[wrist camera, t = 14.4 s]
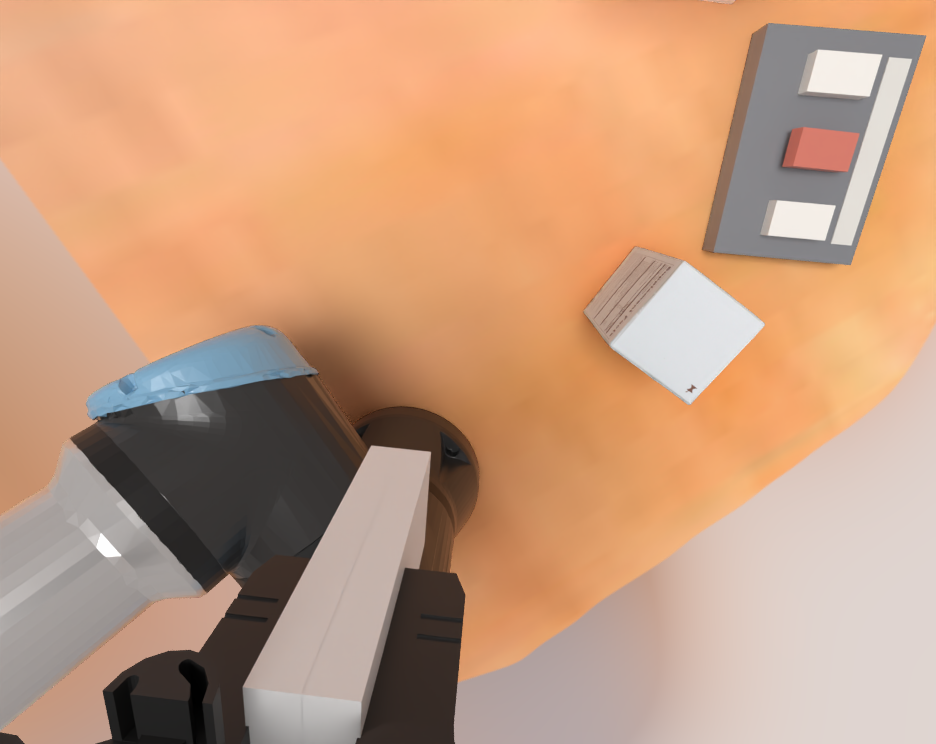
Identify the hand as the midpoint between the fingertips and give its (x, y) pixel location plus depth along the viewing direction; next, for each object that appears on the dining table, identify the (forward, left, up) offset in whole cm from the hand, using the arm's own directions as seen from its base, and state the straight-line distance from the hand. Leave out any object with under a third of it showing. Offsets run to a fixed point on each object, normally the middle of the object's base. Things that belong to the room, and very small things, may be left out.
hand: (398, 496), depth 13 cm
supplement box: (0, -15, -35) cm, 38 cm away
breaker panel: (+13, -25, -34) cm, 44 cm away
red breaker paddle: (+13, -25, -31) cm, 42 cm away
